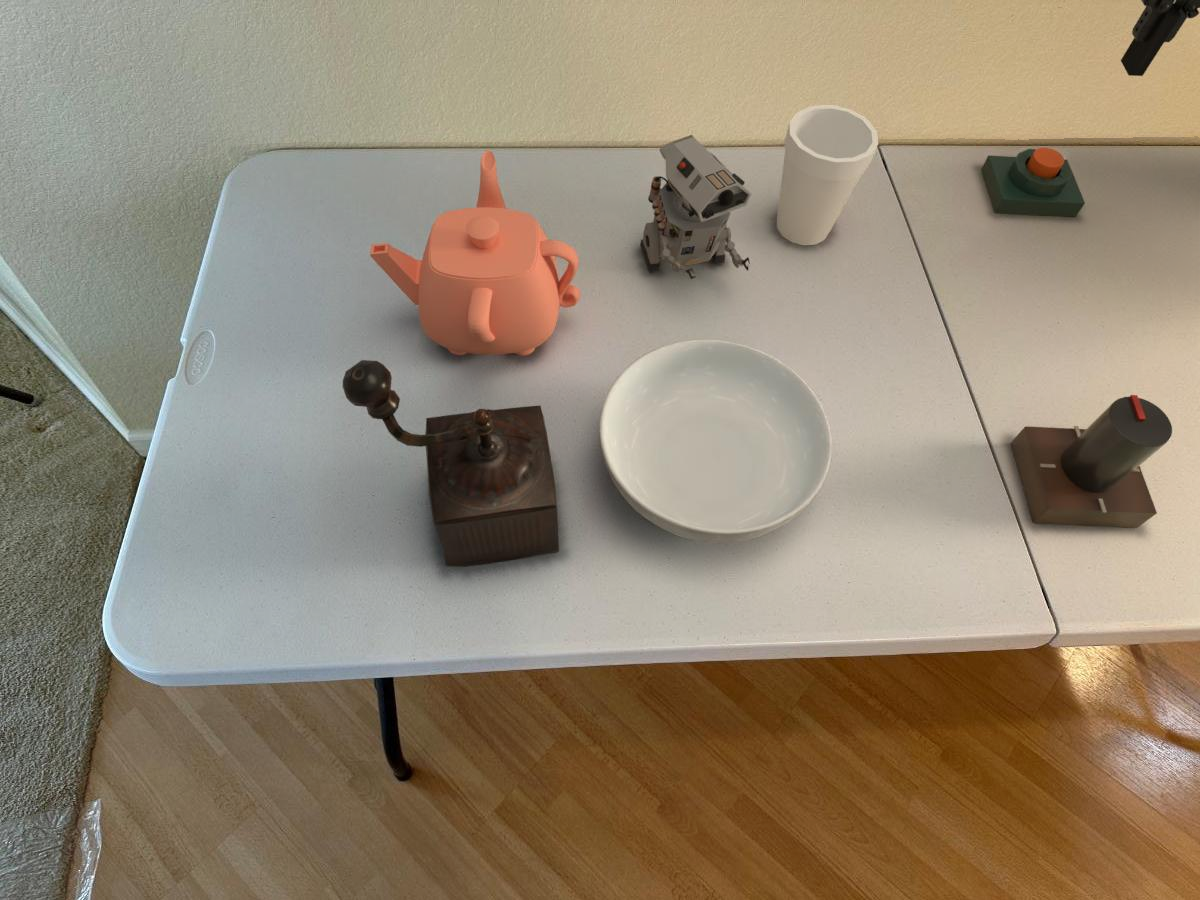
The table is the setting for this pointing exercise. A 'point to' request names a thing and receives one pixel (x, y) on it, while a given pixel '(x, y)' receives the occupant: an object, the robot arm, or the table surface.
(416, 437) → the coffee grinder
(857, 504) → the table surface
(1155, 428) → the pointer knob
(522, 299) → the teapot
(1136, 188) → the table surface
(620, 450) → the serving bowl
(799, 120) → the foam cup
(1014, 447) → the dial panel
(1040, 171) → the button
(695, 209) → the figurine
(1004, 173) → the button box
